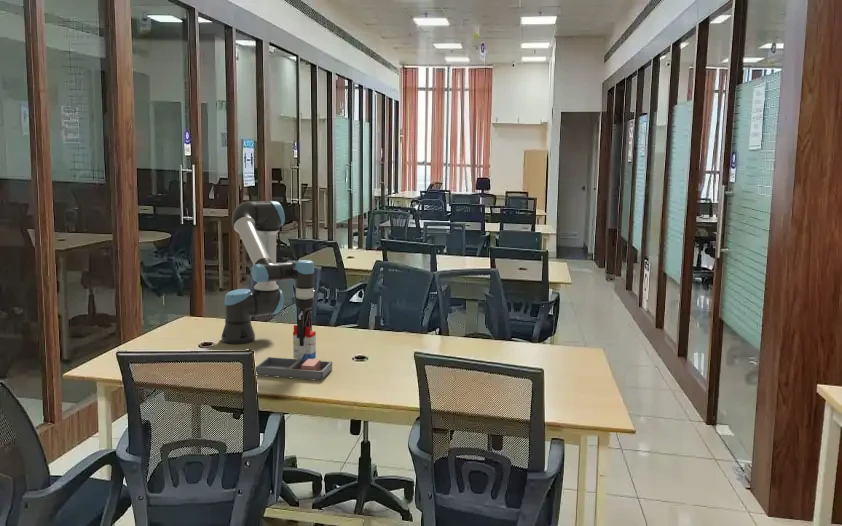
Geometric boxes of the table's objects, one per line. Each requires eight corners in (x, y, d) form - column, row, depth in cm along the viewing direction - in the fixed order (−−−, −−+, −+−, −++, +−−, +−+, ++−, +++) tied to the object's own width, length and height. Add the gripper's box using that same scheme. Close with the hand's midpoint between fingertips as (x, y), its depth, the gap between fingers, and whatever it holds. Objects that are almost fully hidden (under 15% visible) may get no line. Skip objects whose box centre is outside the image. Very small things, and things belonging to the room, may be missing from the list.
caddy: (255, 375, 269) (255, 366, 269) (268, 365, 283) (268, 357, 282) (322, 380, 266) (322, 371, 265) (332, 370, 279) (332, 361, 278)
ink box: (316, 358, 291) (316, 324, 289) (310, 361, 286) (310, 327, 284) (298, 355, 294) (298, 322, 291) (292, 358, 289) (292, 325, 287)
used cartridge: (301, 375, 269) (301, 365, 268) (308, 368, 278) (308, 358, 277) (313, 375, 268) (313, 366, 268) (320, 369, 277) (320, 359, 276)
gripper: (306, 302, 276) (306, 357, 280) (319, 293, 294) (319, 345, 298) (288, 301, 277) (288, 356, 281) (303, 292, 295) (302, 344, 299)
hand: (304, 350), depth 289 cm, fingers closed on ink box, 5 cm apart
